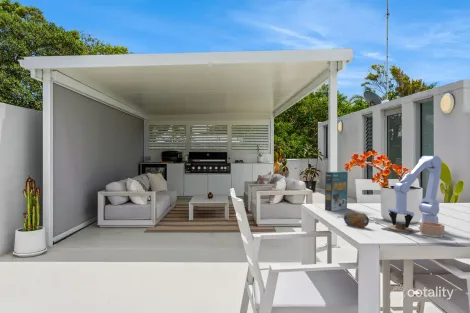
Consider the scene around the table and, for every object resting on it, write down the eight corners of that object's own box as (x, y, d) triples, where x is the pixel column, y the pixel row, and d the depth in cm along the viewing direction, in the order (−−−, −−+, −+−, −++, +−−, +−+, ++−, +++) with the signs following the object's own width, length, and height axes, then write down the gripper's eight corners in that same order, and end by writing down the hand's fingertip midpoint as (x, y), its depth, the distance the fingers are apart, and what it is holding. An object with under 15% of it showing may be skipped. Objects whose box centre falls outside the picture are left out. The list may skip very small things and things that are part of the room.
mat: (395, 226, 201) (395, 225, 201) (420, 231, 189) (420, 230, 189) (381, 229, 193) (381, 228, 193) (406, 234, 180) (406, 233, 180)
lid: (396, 226, 200) (396, 219, 200) (417, 230, 189) (417, 224, 189) (383, 228, 193) (384, 222, 193) (405, 233, 182) (405, 226, 182)
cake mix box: (340, 207, 271) (341, 171, 271) (346, 208, 267) (347, 171, 266) (324, 209, 257) (325, 172, 257) (331, 210, 253) (332, 172, 252)
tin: (343, 224, 204) (343, 211, 204) (345, 223, 206) (346, 210, 206) (367, 228, 193) (367, 214, 193) (369, 228, 196) (369, 214, 196)
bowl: (426, 231, 189) (426, 221, 189) (447, 235, 180) (447, 224, 180) (416, 233, 183) (416, 223, 183) (437, 238, 174) (437, 227, 174)
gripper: (385, 201, 195) (385, 224, 195) (409, 205, 182) (409, 229, 183) (392, 201, 198) (391, 223, 199) (416, 204, 186) (415, 228, 186)
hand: (400, 226), depth 191 cm, fingers open, 7 cm apart
